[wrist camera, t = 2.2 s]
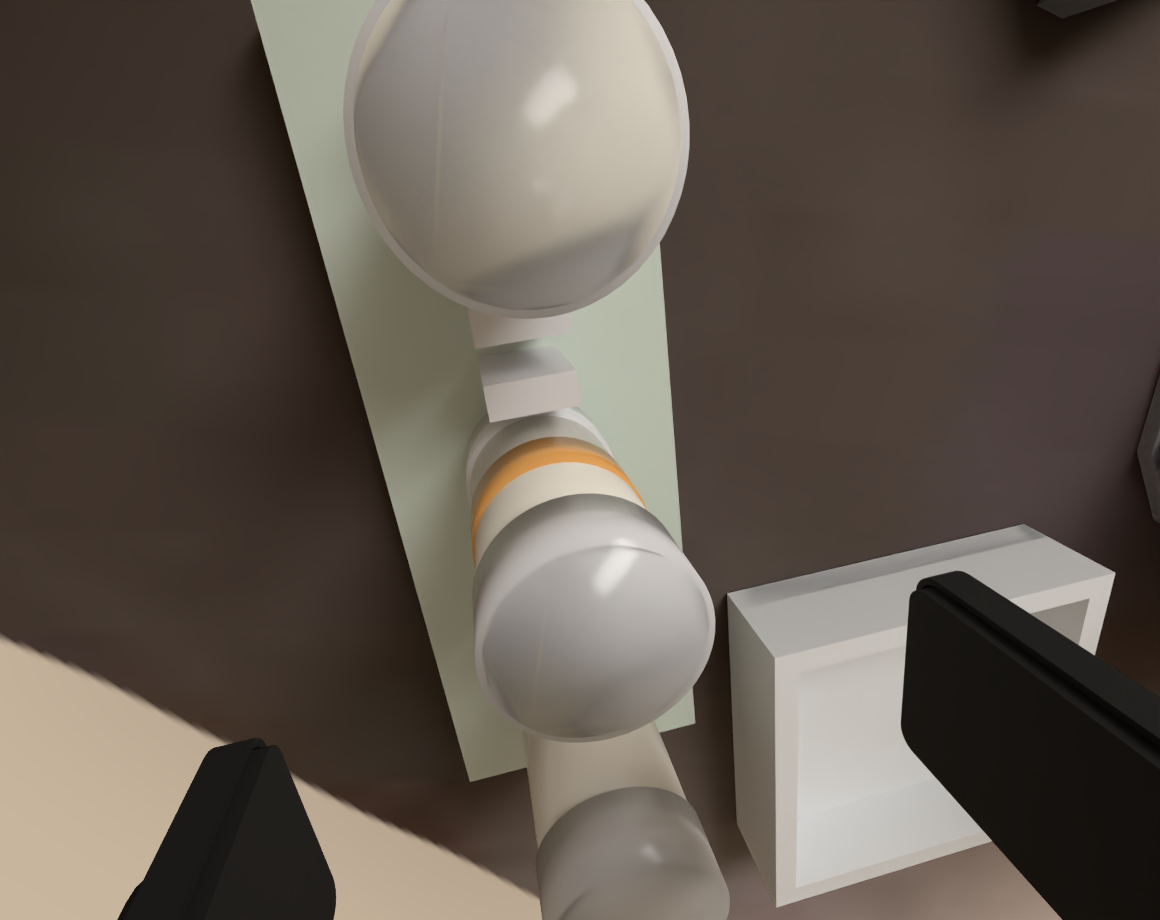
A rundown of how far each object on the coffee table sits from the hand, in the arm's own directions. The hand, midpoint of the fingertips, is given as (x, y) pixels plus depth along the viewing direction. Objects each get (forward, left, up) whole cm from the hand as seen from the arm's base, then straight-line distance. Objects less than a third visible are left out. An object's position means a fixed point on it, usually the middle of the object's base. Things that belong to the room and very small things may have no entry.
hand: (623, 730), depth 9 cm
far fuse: (+6, 0, -9) cm, 11 cm away
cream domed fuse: (-8, 0, -9) cm, 12 cm away
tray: (+12, +12, -10) cm, 20 cm away
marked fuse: (-1, 0, -9) cm, 9 cm away
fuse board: (-1, 0, -10) cm, 10 cm away
